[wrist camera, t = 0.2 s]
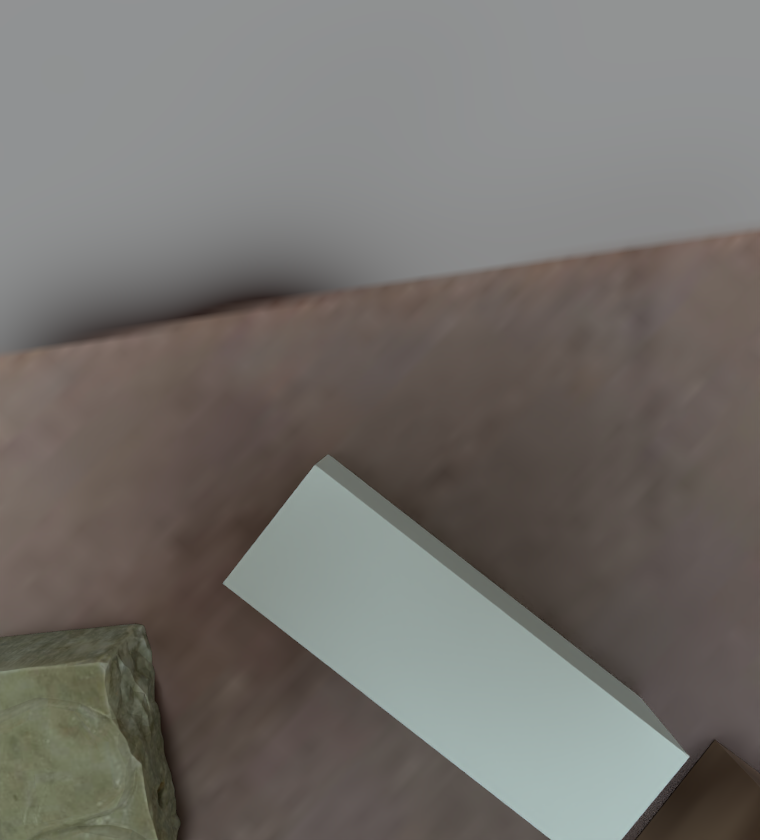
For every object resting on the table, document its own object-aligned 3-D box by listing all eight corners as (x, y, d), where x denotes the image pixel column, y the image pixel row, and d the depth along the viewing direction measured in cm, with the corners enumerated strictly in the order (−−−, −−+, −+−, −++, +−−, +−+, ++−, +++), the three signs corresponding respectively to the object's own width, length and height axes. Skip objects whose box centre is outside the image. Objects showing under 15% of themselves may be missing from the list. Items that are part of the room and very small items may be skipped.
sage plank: (637, 694, 23) (689, 756, 19) (559, 789, 23) (593, 872, 19) (329, 453, 23) (315, 464, 19) (252, 551, 23) (222, 583, 19)
